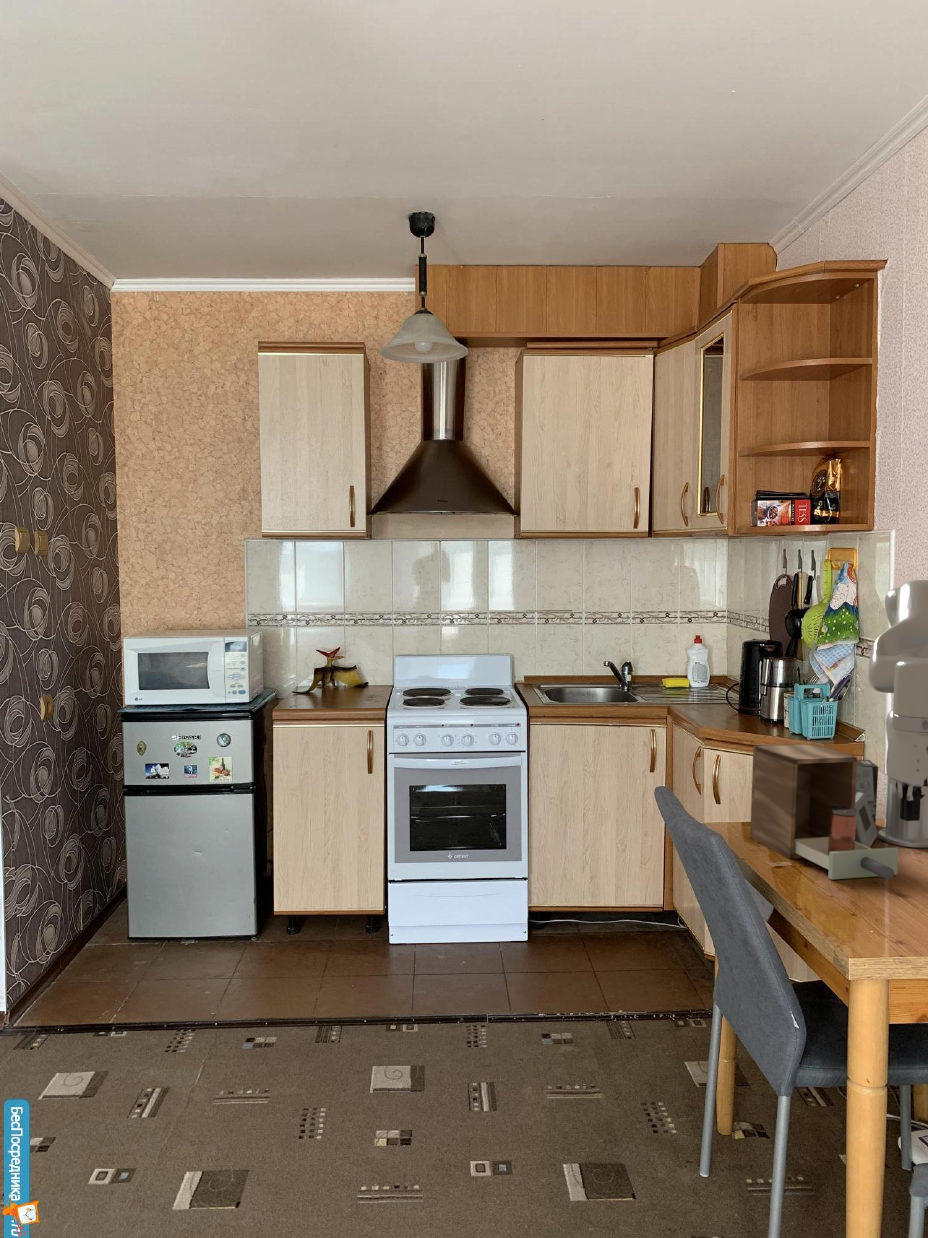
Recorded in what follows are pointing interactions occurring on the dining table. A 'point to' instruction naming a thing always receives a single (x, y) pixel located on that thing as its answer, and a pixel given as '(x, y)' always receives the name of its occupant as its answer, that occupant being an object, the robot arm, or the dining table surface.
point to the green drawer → (849, 859)
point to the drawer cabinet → (798, 792)
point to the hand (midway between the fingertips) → (909, 819)
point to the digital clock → (864, 822)
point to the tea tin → (842, 828)
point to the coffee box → (867, 783)
